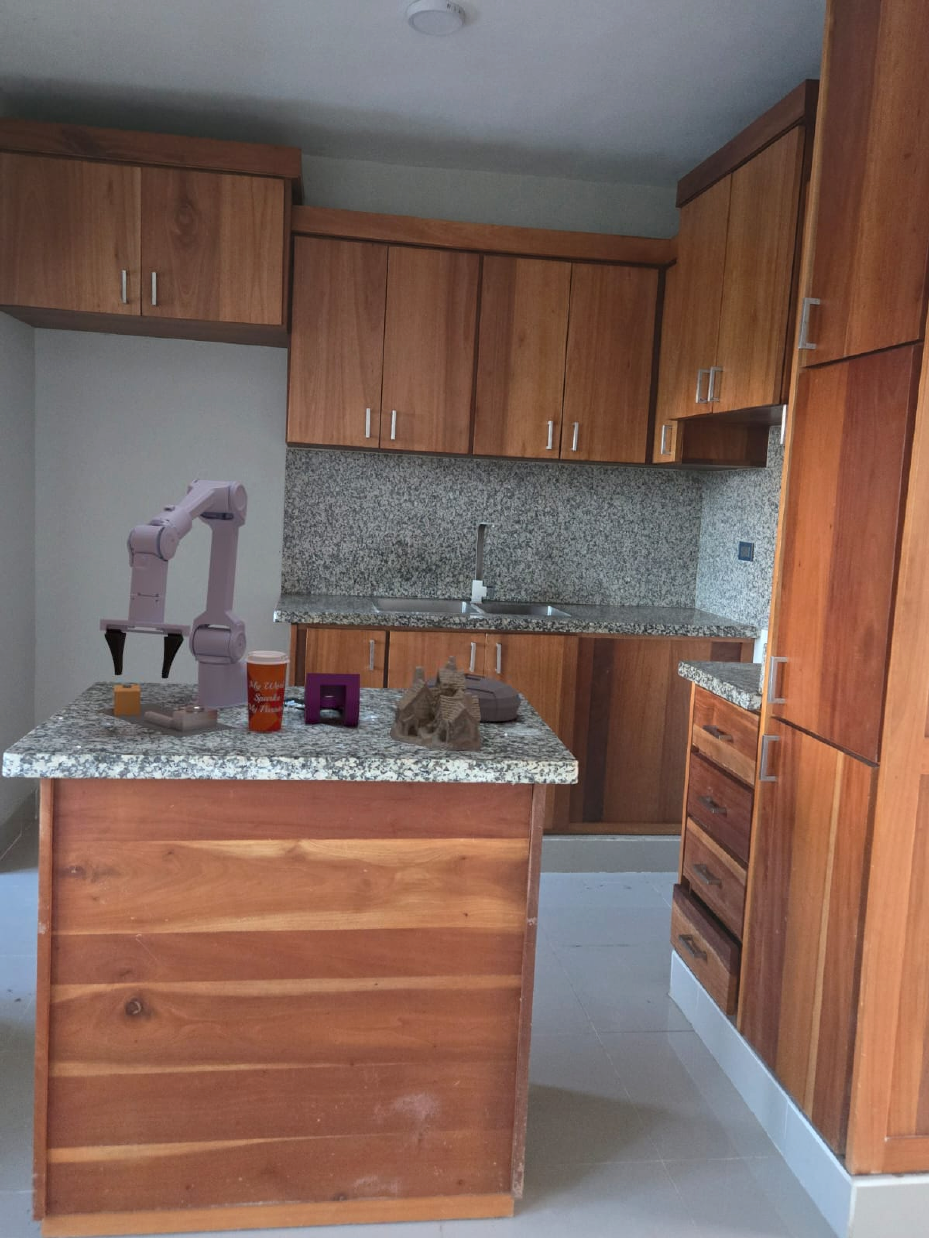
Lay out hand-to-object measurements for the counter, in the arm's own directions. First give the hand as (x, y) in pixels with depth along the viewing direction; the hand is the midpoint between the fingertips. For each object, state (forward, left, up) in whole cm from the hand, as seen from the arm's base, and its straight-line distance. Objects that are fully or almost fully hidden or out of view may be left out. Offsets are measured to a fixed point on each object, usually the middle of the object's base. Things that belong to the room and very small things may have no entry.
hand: (141, 676), depth 169 cm
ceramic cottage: (-39, +33, -11) cm, 52 cm away
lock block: (-7, -16, -10) cm, 20 cm away
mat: (-9, -7, -10) cm, 15 cm away
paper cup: (-19, +10, -10) cm, 24 cm away
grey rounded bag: (-60, +23, -11) cm, 65 cm away
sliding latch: (-9, -2, -10) cm, 14 cm away
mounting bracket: (-36, +8, -11) cm, 38 cm away
